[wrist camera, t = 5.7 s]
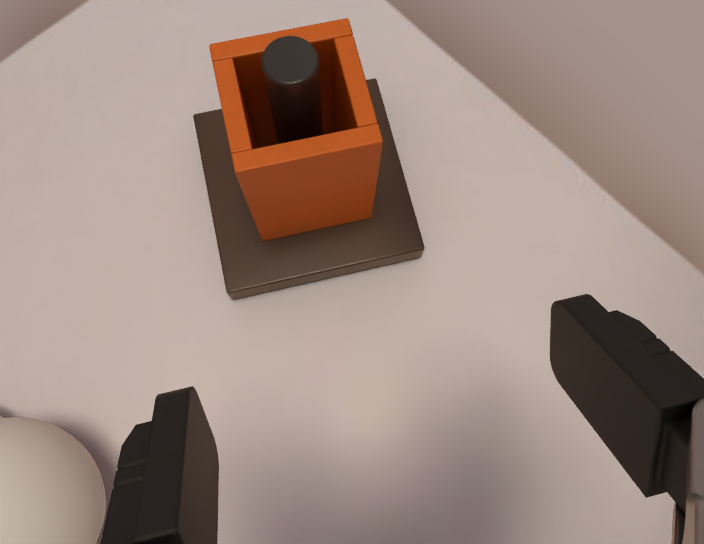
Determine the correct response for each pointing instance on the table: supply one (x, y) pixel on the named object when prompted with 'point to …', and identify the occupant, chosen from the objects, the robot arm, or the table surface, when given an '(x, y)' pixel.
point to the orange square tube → (305, 154)
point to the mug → (47, 486)
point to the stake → (317, 245)
